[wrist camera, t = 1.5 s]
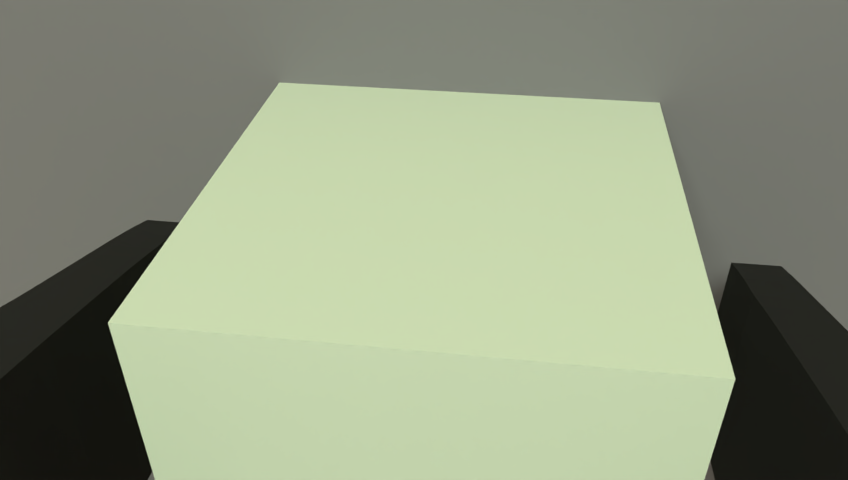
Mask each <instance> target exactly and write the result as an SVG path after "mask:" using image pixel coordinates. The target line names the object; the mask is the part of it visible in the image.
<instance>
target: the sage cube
mask: <svg viewBox="0 0 848 480" xmlns="http://www.w3.org/2000/svg"><path fill="white" fill-rule="evenodd" d="M108 325H109V328H110V332H111V335H112V338H113V342H114V345H115V348H116V352H117V355H118V358H119V362H120V365H121V368H122V372H123V375H124V378H125V382H126V385H127V388H128V392H129V395H130V398H131V402H132V405H133V408H134V412H135V415H136V418H137V422H138V425H139V428H140V431H141V435H142V438H143V441H144V445H145V448H146V451H147V455H148V458H149V461H150V465H151V468H152V471H153V475H154V478H155V480H704V479H705V476H706V473H707V470H708V466H709V463H710V460H711V457H712V453H713V450H714V447H715V444H716V440H717V437H718V434H719V431H720V427H721V424H722V421H723V418H724V415H725V411H726V408H727V405H728V402H729V398H730V395H731V392H732V389H733V385H734V382H735V376H734V372H733V368H732V365H731V361H730V357H729V354H728V350H727V346H726V343H725V339H724V336H723V332H722V328H721V325H720V321H719V317H718V314H717V310H716V306H715V303H714V299H713V295H712V292H711V288H710V285H709V281H708V277H707V274H706V270H705V266H704V263H703V259H702V255H701V252H700V248H699V245H698V241H697V237H696V234H695V230H694V226H693V223H692V219H691V215H690V212H689V208H688V204H687V201H686V197H685V194H684V190H683V186H682V183H681V179H680V175H679V172H678V168H677V164H676V161H675V157H674V153H673V150H672V146H671V143H670V139H669V135H668V132H667V128H666V124H665V121H664V117H663V113H662V110H661V106H660V103H658V102H639V101H620V100H601V99H582V98H563V97H544V96H525V95H506V94H487V93H468V92H449V91H430V90H411V89H392V88H373V87H354V86H335V85H316V84H297V83H279V84H278V85H277V86H276V88H275V89H274V91H273V92H272V93H271V95H270V96H269V98H268V99H267V101H266V102H265V103H264V105H263V106H262V108H261V109H260V110H259V112H258V113H257V115H256V116H255V117H254V119H253V120H252V122H251V123H250V124H249V126H248V127H247V129H246V130H245V131H244V133H243V134H242V136H241V137H240V138H239V140H238V141H237V143H236V144H235V145H234V147H233V148H232V150H231V151H230V152H229V154H228V155H227V157H226V158H225V159H224V161H223V162H222V164H221V165H220V166H219V168H218V169H217V171H216V172H215V173H214V175H213V176H212V178H211V179H210V180H209V182H208V183H207V185H206V186H205V187H204V189H203V190H202V192H201V193H200V194H199V196H198V197H197V199H196V200H195V201H194V203H193V204H192V206H191V207H190V208H189V210H188V211H187V213H186V214H185V215H184V217H183V218H182V220H181V221H180V222H179V224H178V225H177V227H176V228H175V229H174V231H173V232H172V234H171V235H170V236H169V238H168V239H167V241H166V242H165V243H164V245H163V246H162V248H161V249H160V250H159V252H158V253H157V255H156V256H155V257H154V259H153V260H152V262H151V263H150V264H149V266H148V267H147V269H146V270H145V272H144V273H143V274H142V276H141V277H140V279H139V280H138V281H137V283H136V284H135V286H134V287H133V288H132V290H131V291H130V293H129V294H128V295H127V297H126V298H125V300H124V301H123V302H122V304H121V305H120V307H119V308H118V309H117V311H116V312H115V314H114V315H113V316H112V318H111V319H110V321H109V322H108Z"/></svg>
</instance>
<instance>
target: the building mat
mask: <svg viewBox="0 0 848 480" xmlns="http://www.w3.org/2000/svg"><path fill="white" fill-rule="evenodd" d="M279 83H297V84H316V85H335V86H354V87H373V88H392V89H411V90H430V91H449V92H468V93H487V94H506V95H525V96H544V97H563V98H582V99H601V100H620V101H639V102H658V103H660V106H661V110H662V113H663V117H664V121H665V124H666V128H667V132H668V135H669V139H670V143H671V146H672V150H673V153H674V157H675V161H676V164H677V168H678V172H679V175H680V179H681V183H682V186H683V190H684V194H685V197H686V201H687V204H688V208H689V212H690V215H691V219H692V223H693V226H694V230H695V234H696V237H697V241H698V245H699V248H700V252H701V255H702V259H703V263H704V266H705V270H706V274H707V277H708V281H709V285H710V288H711V292H712V295H713V299H714V303H715V306H716V310H717V313H718V310H719V306H720V302H721V299H722V295H723V291H724V288H725V284H726V280H727V277H728V273H729V269H730V266H731V263H745V264H759V265H773V266H782V267H783V268H784V269H785V270H786V271H787V272H788V273H789V274H791V275H792V276H793V277H794V278H795V279H796V280H797V281H798V282H799V283H800V284H801V285H802V286H803V287H804V288H805V289H806V290H807V291H808V292H809V293H810V294H811V295H812V296H813V297H814V298H815V299H816V300H817V301H818V302H819V303H820V304H821V305H822V306H823V307H824V308H825V309H826V310H827V311H828V312H829V313H830V314H831V315H832V316H833V317H834V318H835V319H836V320H837V321H838V322H839V323H840V324H841V325H842V326H843V327H844V328H845V329H846V330H847V331H848V0H0V307H1V306H3V305H5V304H7V303H8V302H10V301H12V300H14V299H15V298H17V297H19V296H20V295H22V294H24V293H25V292H27V291H29V290H30V289H32V288H33V287H35V286H37V285H38V284H40V283H42V282H43V281H45V280H47V279H48V278H50V277H51V276H53V275H55V274H56V273H58V272H60V271H61V270H63V269H65V268H66V267H68V266H69V265H71V264H73V263H74V262H76V261H78V260H79V259H81V258H82V257H84V256H86V255H87V254H89V253H90V252H92V251H94V250H95V249H97V248H99V247H100V246H102V245H103V244H105V243H107V242H108V241H110V240H112V239H113V238H115V237H117V236H119V235H120V234H122V233H124V232H125V231H127V230H129V229H131V228H133V227H134V226H136V225H138V224H140V223H142V222H144V221H146V220H154V221H168V222H180V221H181V220H182V218H183V217H184V215H185V214H186V213H187V211H188V210H189V208H190V207H191V206H192V204H193V203H194V201H195V200H196V199H197V197H198V196H199V194H200V193H201V192H202V190H203V189H204V187H205V186H206V185H207V183H208V182H209V180H210V179H211V178H212V176H213V175H214V173H215V172H216V171H217V169H218V168H219V166H220V165H221V164H222V162H223V161H224V159H225V158H226V157H227V155H228V154H229V152H230V151H231V150H232V148H233V147H234V145H235V144H236V143H237V141H238V140H239V138H240V137H241V136H242V134H243V133H244V131H245V130H246V129H247V127H248V126H249V124H250V123H251V122H252V120H253V119H254V117H255V116H256V115H257V113H258V112H259V110H260V109H261V108H262V106H263V105H264V103H265V102H266V101H267V99H268V98H269V96H270V95H271V93H272V92H273V91H274V89H275V88H276V86H277V85H278V84H279ZM148 480H155V478H154V475H153V471H152V473H151V475H150V477H149V478H148ZM704 480H715V478H714V474H713V470H712V466H711V461H710V463H709V466H708V470H707V473H706V476H705V479H704Z"/></svg>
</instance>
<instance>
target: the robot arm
mask: <svg viewBox="0 0 848 480" xmlns="http://www.w3.org/2000/svg"><path fill="white" fill-rule="evenodd" d="M178 224H179V222H168V221H154V220H146V221H144V222H142V223H140V224H138V225H136V226H134V227H133V228H131V229H129V230H127V231H125V232H124V233H122V234H120V235H119V236H117V237H115V238H113V239H112V240H110V241H108V242H107V243H105V244H103V245H102V246H100V247H99V248H97V249H95V250H94V251H92V252H90V253H89V254H87V255H86V256H84V257H82V258H81V259H79V260H78V261H76V262H74V263H73V264H71V265H69V266H68V267H66V268H65V269H63V270H61V271H60V272H58V273H56V274H55V275H53V276H51V277H50V278H48V279H47V280H45V281H43V282H42V283H40V284H38V285H37V286H35V287H33V288H32V289H30V290H29V291H27V292H25V293H24V294H22V295H20V296H19V297H17V298H15V299H14V300H12V301H10V302H8V303H7V304H5V305H3V306H1V307H0V480H148V478H149V477H150V475H151V473H152V468H151V465H150V461H149V458H148V455H147V451H146V448H145V445H144V441H143V438H142V435H141V431H140V428H139V425H138V422H137V418H136V415H135V412H134V408H133V405H132V402H131V398H130V395H129V392H128V388H127V385H126V382H125V378H124V375H123V372H122V368H121V365H120V362H119V358H118V355H117V352H116V348H115V345H114V342H113V338H112V335H111V332H110V328H109V325H108V322H109V321H110V319H111V318H112V316H113V315H114V314H115V312H116V311H117V309H118V308H119V307H120V305H121V304H122V302H123V301H124V300H125V298H126V297H127V295H128V294H129V293H130V291H131V290H132V288H133V287H134V286H135V284H136V283H137V281H138V280H139V279H140V277H141V276H142V274H143V273H144V272H145V270H146V269H147V267H148V266H149V264H150V263H151V262H152V260H153V259H154V257H155V256H156V255H157V253H158V252H159V250H160V249H161V248H162V246H163V245H164V243H165V242H166V241H167V239H168V238H169V236H170V235H171V234H172V232H173V231H174V229H175V228H176V227H177V225H178ZM717 314H718V317H719V321H720V325H721V328H722V332H723V336H724V339H725V343H726V346H727V350H728V354H729V357H730V361H731V365H732V368H733V372H734V376H735V382H734V385H733V389H732V392H731V395H730V398H729V402H728V405H727V408H726V411H725V415H724V418H723V421H722V424H721V427H720V431H719V434H718V437H717V440H716V444H715V447H714V450H713V453H712V457H711V460H710V461H711V466H712V470H713V474H714V478H715V480H848V331H847V330H846V329H845V328H844V327H843V326H842V325H841V324H840V323H839V322H838V321H837V320H836V319H835V318H834V317H833V316H832V315H831V314H830V313H829V312H828V311H827V310H826V309H825V308H824V307H823V306H822V305H821V304H820V303H819V302H818V301H817V300H816V299H815V298H814V297H813V296H812V295H811V294H810V293H809V292H808V291H807V290H806V289H805V288H804V287H803V286H802V285H801V284H800V283H799V282H798V281H797V280H796V279H795V278H794V277H793V276H792V275H791V274H789V273H788V272H787V271H786V270H785V269H784V268H783V267H782V266H773V265H759V264H745V263H731V266H730V269H729V273H728V277H727V280H726V284H725V288H724V291H723V295H722V299H721V302H720V306H719V310H718V313H717Z"/></svg>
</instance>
